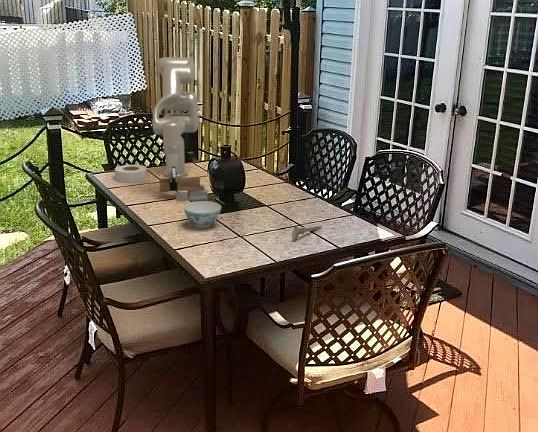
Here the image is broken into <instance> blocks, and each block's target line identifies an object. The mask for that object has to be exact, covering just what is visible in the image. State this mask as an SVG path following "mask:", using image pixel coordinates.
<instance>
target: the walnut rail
mask: <svg viewBox="0 0 538 432" xmlns="http://www.w3.org/2000/svg"><path fill="white" fill-rule="evenodd" d="M158 180H159V183H158V184H159V186H158V187H159V192H160V193H163V192H164V193H165V192H166V193H167V192H168V193H169V192H172V191H171V190H170V182H171V181H170V178H169V177H163V178H158ZM200 185H201V178H200V177H199V176H183V177H177V190H174V191H173V192H187V191H189V190H200Z"/></svg>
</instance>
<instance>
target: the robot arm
mask: <svg viewBox="0 0 538 432" xmlns="http://www.w3.org/2000/svg"><path fill="white" fill-rule="evenodd" d="M157 68H158V71H159V73H160V75H161V77H162V97H161V98H160V99H159V100H158V102H156V105H155V106H154V108H153V112H152V131H153V133H154V134H156V135H158V136H162V137H163V138H162V143H163V154H164V155H165V170H164V171H163V172H162V175H163V176H164V177H166V178H170V181H171V182H170V190H171V191H170V192H175V191H174V190H177V178H182V177H187V175H189V172H188V170H185V140H184V138H183V137H182V134H183V133H196V132H197V131H198V126H199V116H198V115H199V111H198V110H199V108H198V107H199V106H198V105H199V104H198V103H199V102H198V96H197V94H196V93H195V92H194V91H186V90H185V91H183V84H184V85H191V84H193V83H194V81H195V77H196V72H195V71H196V64H195V61H194V59H193V58H191V57H176V56H170V57H169V56H168V57H167V56H166V57H165V56H164V57H161V58H159V59H158V60H157ZM165 108H166V110H168V111H172V113H171V112H170V113H167V114H165V115H164V116H163V117H161V118H160V113H161V112H162V111H163V110H164V109H165ZM173 111H175V112H173ZM184 112H185V113H184ZM187 112H188V113H187Z"/></svg>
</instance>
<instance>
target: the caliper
mask: <svg viewBox="0 0 538 432" xmlns="http://www.w3.org/2000/svg"><path fill="white" fill-rule="evenodd" d="M321 229H323V226H322V225H320V224H319V225H313V226H307V227H304V226H300V227H299V225H294V227H293V229H292V233H291V240H292V242H296V241H299V237H300V235H305V233H307V232H312V231H319V230H321Z"/></svg>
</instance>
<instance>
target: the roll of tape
mask: <svg viewBox="0 0 538 432" xmlns="http://www.w3.org/2000/svg"><path fill="white" fill-rule="evenodd" d="M114 176H115V177H114V178H115V180H116V181H117V182H119V183H125V184H133V183H134V184H135V183H142V182H145V181H147V180H148V168H147V166H145V165H143V164H141V165H140V164H126V165H125V164H124V165H119V166H117V167H115V168H114Z"/></svg>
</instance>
